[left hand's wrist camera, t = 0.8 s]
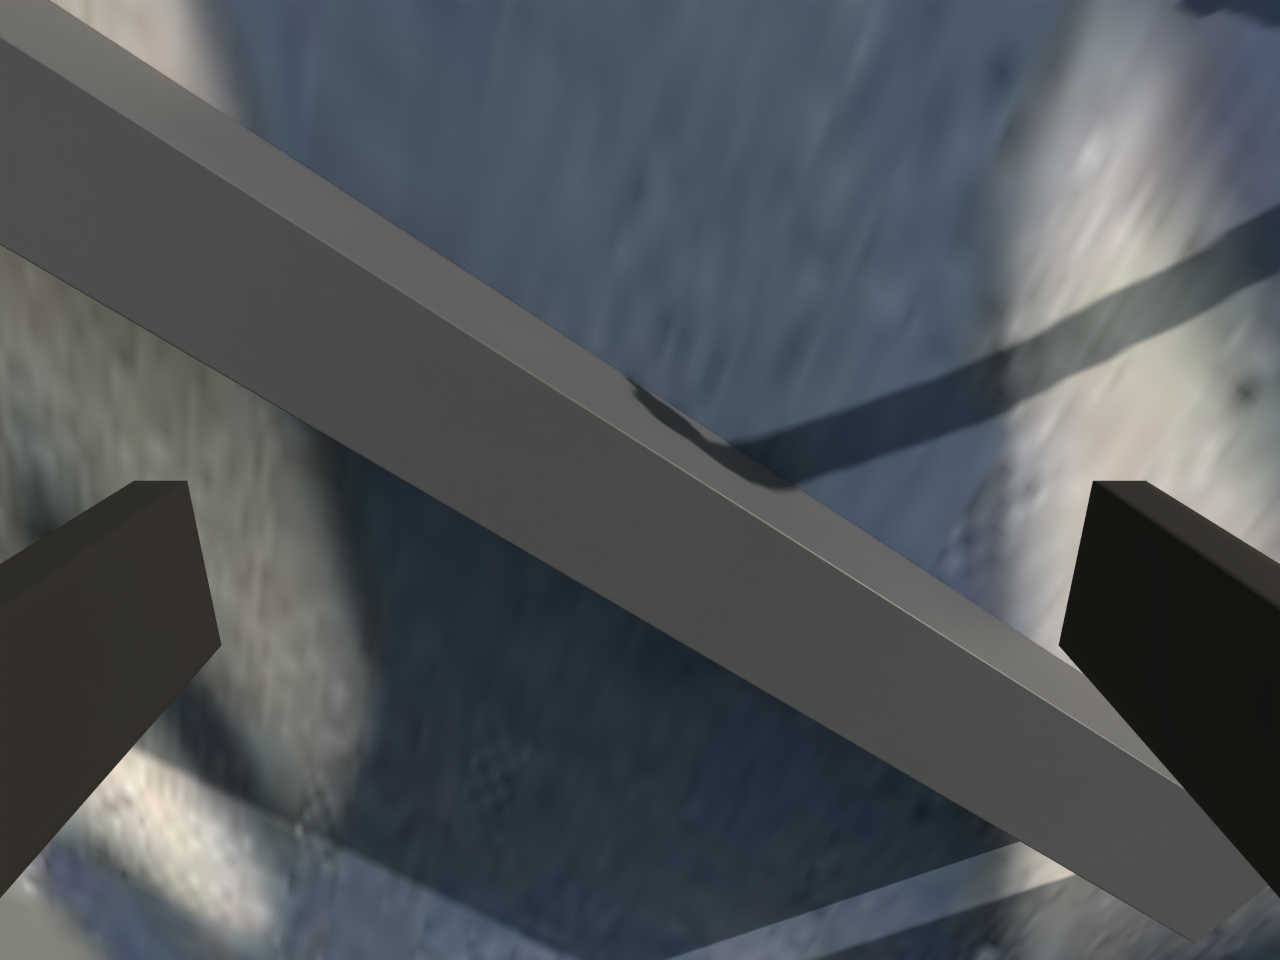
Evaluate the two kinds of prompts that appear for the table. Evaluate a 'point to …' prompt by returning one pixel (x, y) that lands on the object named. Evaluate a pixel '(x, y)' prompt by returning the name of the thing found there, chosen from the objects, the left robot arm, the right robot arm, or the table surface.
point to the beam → (571, 460)
